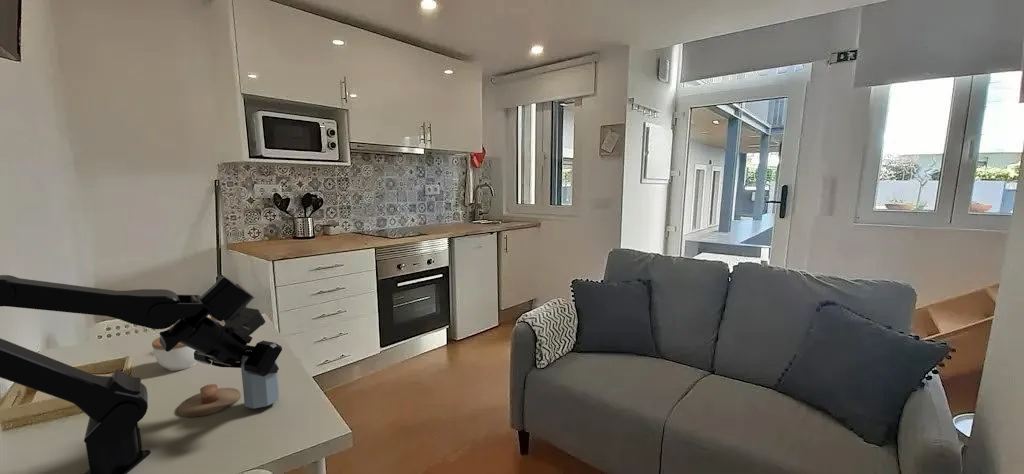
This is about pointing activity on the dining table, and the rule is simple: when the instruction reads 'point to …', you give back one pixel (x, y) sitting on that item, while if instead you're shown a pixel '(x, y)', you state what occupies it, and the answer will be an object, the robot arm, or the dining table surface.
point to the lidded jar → (174, 356)
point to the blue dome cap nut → (259, 388)
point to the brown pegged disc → (209, 401)
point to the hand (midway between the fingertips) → (265, 368)
